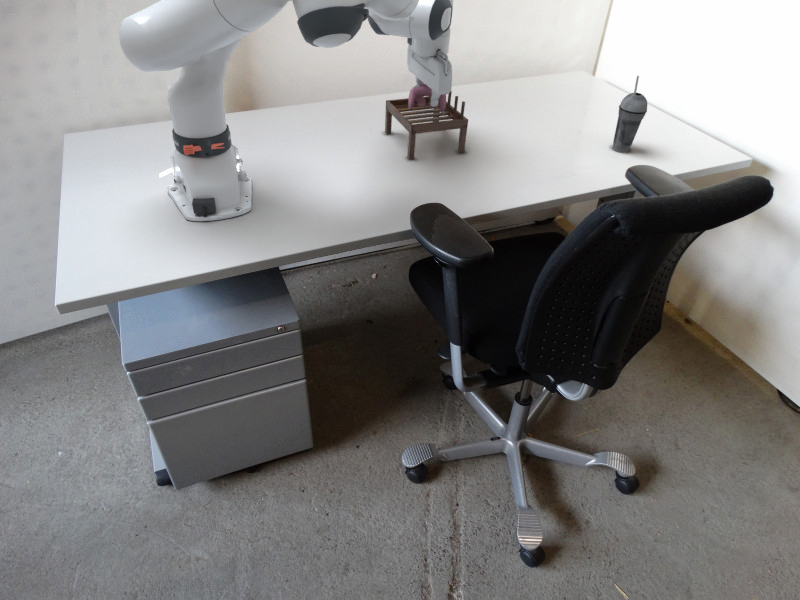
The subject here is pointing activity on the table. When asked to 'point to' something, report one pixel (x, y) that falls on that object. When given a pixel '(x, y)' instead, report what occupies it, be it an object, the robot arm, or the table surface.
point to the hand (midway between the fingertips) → (426, 99)
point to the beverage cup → (629, 120)
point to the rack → (426, 120)
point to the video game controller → (418, 96)
